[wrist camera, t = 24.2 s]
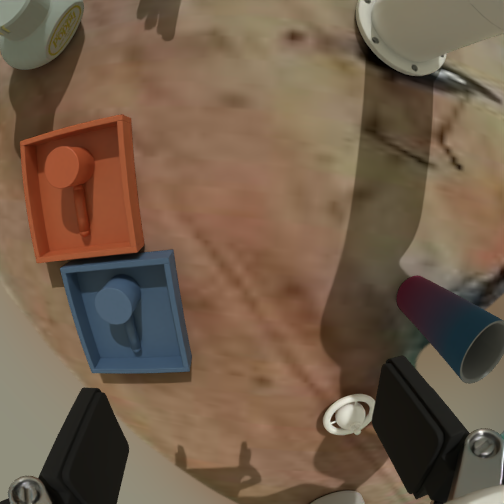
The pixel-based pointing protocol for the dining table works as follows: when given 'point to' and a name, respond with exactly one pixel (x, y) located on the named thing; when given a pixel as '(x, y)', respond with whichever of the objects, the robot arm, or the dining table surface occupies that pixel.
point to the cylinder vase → (340, 498)
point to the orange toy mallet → (72, 177)
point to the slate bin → (145, 314)
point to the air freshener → (36, 30)
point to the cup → (454, 327)
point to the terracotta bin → (95, 189)
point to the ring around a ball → (349, 414)
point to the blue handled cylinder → (120, 305)
